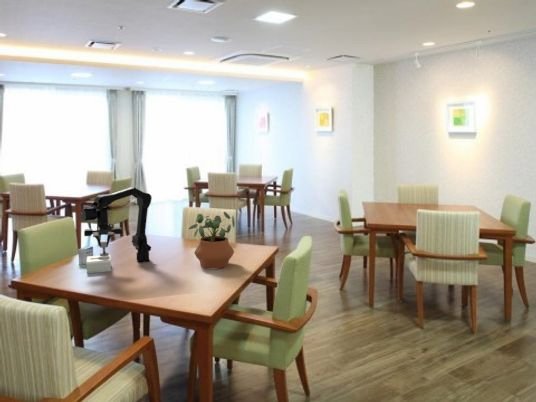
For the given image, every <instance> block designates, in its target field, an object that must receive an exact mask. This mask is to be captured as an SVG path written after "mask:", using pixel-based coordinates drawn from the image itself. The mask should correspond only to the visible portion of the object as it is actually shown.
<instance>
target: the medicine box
mask: <svg viewBox="0 0 536 402" xmlns="http://www.w3.org/2000/svg"><path fill="white" fill-rule="evenodd" d="M77 251H78V252H77V253H78V264H79V265H86V261H87V256H94V247H93V246H89V245H87V246H84V247H81V248H79V249H78V250H77Z"/></svg>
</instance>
